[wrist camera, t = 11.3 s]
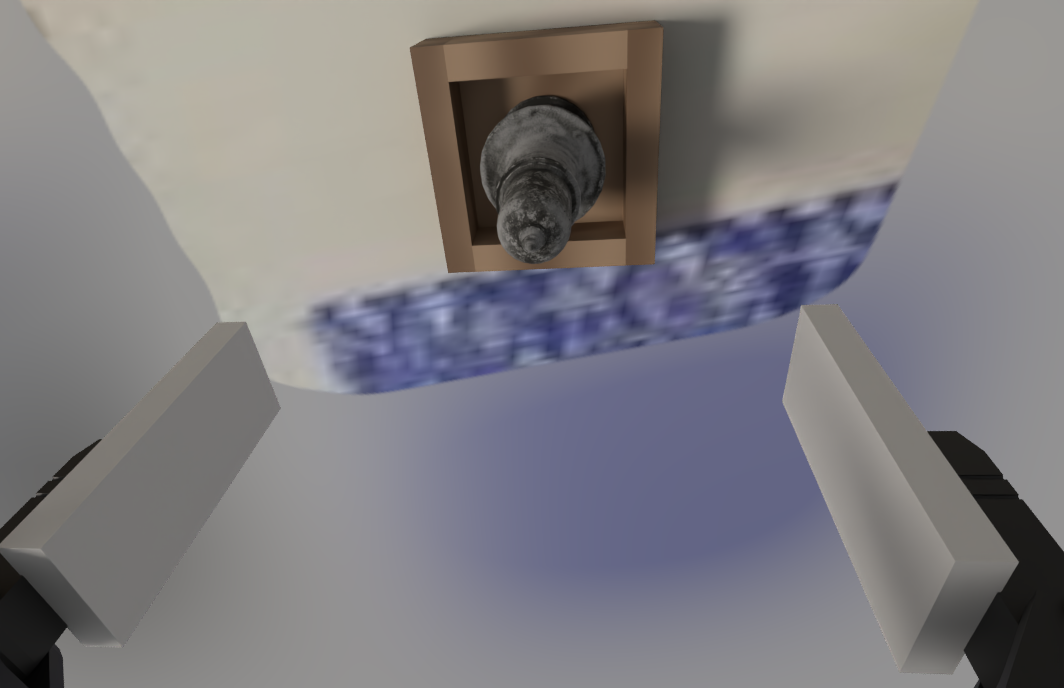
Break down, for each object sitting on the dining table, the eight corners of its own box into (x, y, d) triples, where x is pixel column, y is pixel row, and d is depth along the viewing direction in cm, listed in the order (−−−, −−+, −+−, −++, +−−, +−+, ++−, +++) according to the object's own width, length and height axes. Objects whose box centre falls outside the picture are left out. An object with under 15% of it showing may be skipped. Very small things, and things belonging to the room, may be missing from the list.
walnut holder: (654, 20, 28) (663, 27, 25) (648, 239, 34) (654, 264, 31) (425, 38, 29) (409, 47, 26) (458, 247, 35) (448, 272, 32)
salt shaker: (620, 110, 29) (642, 197, 19) (580, 217, 33) (581, 338, 23) (506, 72, 29) (468, 140, 19) (477, 185, 32) (431, 294, 22)
